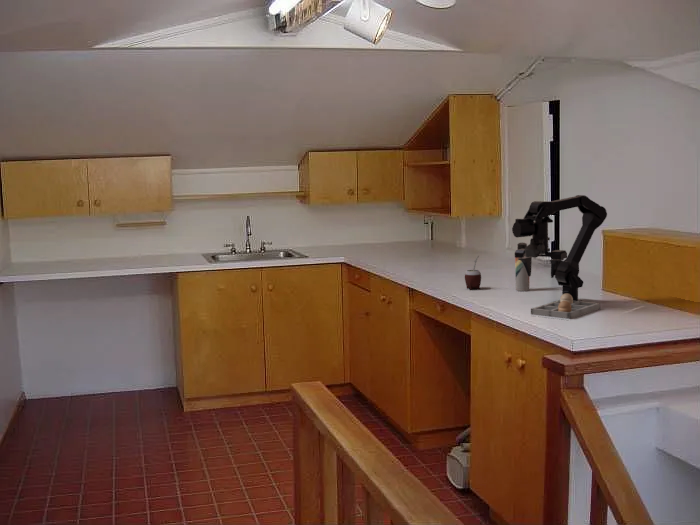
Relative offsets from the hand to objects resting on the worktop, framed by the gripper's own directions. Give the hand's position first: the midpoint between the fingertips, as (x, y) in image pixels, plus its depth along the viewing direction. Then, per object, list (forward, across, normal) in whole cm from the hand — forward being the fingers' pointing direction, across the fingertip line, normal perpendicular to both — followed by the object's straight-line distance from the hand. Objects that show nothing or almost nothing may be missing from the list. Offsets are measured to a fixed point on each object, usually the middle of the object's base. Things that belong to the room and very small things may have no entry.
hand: (540, 277), depth 299 cm
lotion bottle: (+11, -23, +28) cm, 38 cm away
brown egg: (+10, +17, -16) cm, 26 cm away
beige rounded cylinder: (+10, +11, -2) cm, 15 cm away
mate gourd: (+11, -42, +22) cm, 49 cm away
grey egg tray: (+11, +14, -9) cm, 20 cm away
